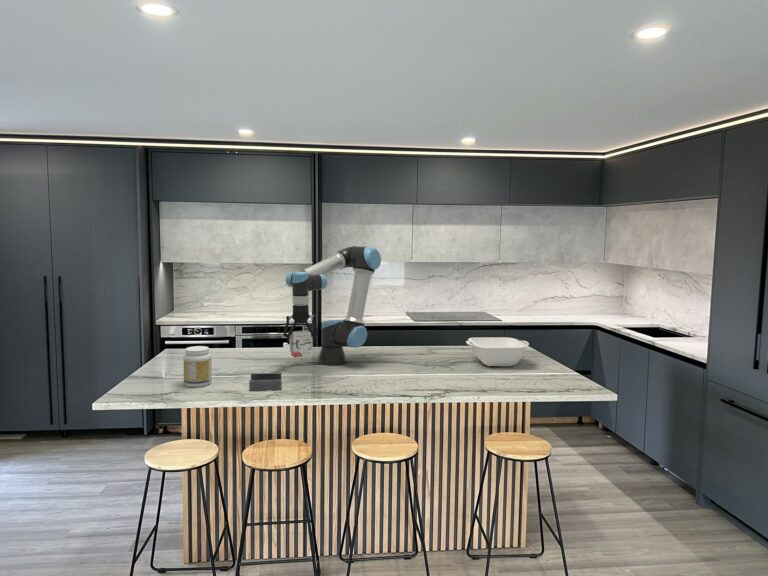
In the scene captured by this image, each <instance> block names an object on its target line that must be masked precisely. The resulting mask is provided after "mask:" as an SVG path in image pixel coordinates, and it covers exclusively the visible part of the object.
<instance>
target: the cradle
mask: <svg viewBox="0 0 768 576" xmlns="http://www.w3.org/2000/svg"><path fill="white" fill-rule="evenodd" d="M248 382H249V383H248V384H249V387H248V389H249V390H248V391H249V392H261V391H264V392H268V391H267V390H272V391H282V372H266V373H265V372H260V373H254V372H253V373H250V380H249V381H248Z"/></svg>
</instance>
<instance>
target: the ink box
mask: <svg viewBox="0 0 768 576" xmlns="http://www.w3.org/2000/svg"><path fill="white" fill-rule="evenodd" d="M311 336H312V335H311V332H310V331H309V329H307V330H297V331H296V330H295V331H294V330H293V332H292V334H291V336H290V337H291V351H290V353H291V356H292V357H293V358H296V359H297V358H302V357H304V358H305V357H311V356H312V351H311Z"/></svg>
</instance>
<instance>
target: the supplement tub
mask: <svg viewBox="0 0 768 576" xmlns="http://www.w3.org/2000/svg"><path fill="white" fill-rule="evenodd" d="M184 353H185V354H184V356H183V384H184V385H185V386H186V387H188V388H202V387H207V386H209V385H211V383H212V380H213V379H212V378H213V377H212V376H213V375H212V354H211V353H210V348H209V346H204V345H203V346H202V345H195V346H188V347H186V348H185V352H184Z"/></svg>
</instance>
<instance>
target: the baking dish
mask: <svg viewBox="0 0 768 576" xmlns="http://www.w3.org/2000/svg"><path fill="white" fill-rule="evenodd" d="M465 343H466V345H468V346H471V349H472V351H473V354H474V356H475V357H476V358H477V359H478V360H479V361H480V362H481V363H482V364H483V365H485V366H486V365H487V367H489V366H498V367H513V366H515V365H516V364H517V363H519V362H520V360H521V359H522V358H523V356H524V353H525V350H526V349H527V348H529V346H530V342H528V341H526V340H519V339H517V338H513V337H505V336H504V337H501V336H500V337H499V336H498V337H497V336H496V337H491V336H490V337H486V336H485V337H484V336H483V337H469V338H468V339H467V340H466V341H465Z"/></svg>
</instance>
